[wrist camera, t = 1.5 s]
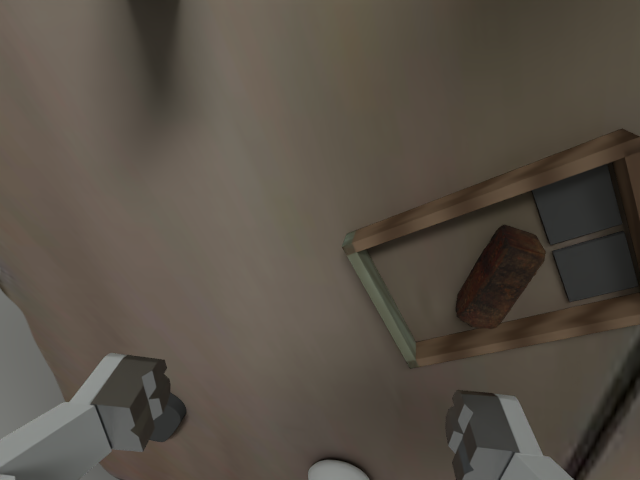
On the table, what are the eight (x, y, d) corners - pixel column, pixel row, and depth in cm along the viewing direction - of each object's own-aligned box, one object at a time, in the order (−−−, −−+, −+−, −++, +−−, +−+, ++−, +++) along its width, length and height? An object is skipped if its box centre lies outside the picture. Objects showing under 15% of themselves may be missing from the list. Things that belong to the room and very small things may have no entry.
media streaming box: (123, 360, 65) (111, 373, 62) (193, 404, 66) (184, 419, 64) (104, 397, 72) (93, 410, 70) (167, 436, 74) (158, 450, 71)
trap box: (622, 128, 31) (640, 136, 28) (661, 297, 37) (679, 316, 34) (346, 234, 42) (341, 246, 39) (410, 350, 48) (410, 368, 45)
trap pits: (604, 161, 32) (606, 162, 32) (636, 284, 37) (638, 286, 36) (530, 187, 35) (531, 189, 35) (568, 299, 39) (569, 302, 39)
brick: (497, 220, 37) (506, 242, 33) (536, 233, 37) (549, 257, 33) (453, 298, 43) (456, 324, 39) (486, 309, 42) (493, 337, 39)
